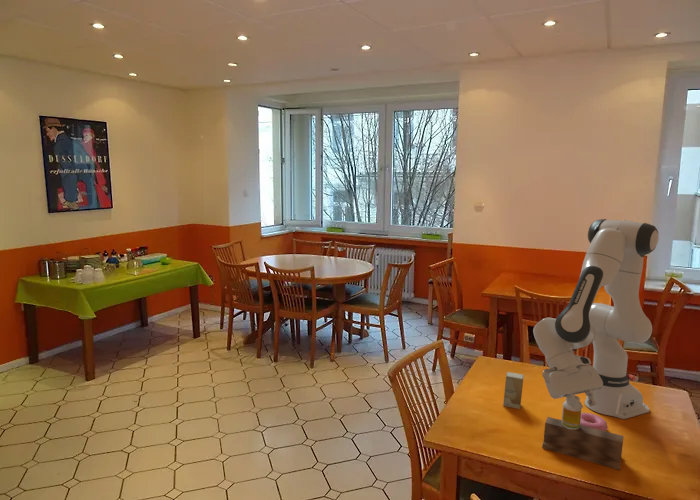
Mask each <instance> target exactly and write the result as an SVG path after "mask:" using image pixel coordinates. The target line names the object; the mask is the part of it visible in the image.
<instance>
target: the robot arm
mask: <svg viewBox="0 0 700 500" xmlns="http://www.w3.org/2000/svg"><path fill="white" fill-rule="evenodd" d="M587 239H588V242H589V246H588V248H587V251H586V253H585V255H584V259H583V261H582V264H581V271H580V274H579V278H578V281H577V282H576V283H577V284H576V286H575V287H574V291H573V292H572V295H571V298H570V300H569V302H568V304H567V305H566V307H565V308H564V309H563V310H561V312H560V313H559V314H558V315H557V316H556V318H553V317H549V316H548V317H545V318H542V319H540V320H539V321H538V322H537V323H535V325H534V326H533V330H532V332H533V336H534V339H535V342H536V344H537V346H538V348H539V350H540V351H541V353H542V354H543V355H544V357H545V361H546V363H547V365H548V367H549V368H546V369H545V368H544V369H543V372H542V377H543V379H544V383H545V386H546V389H547V391H548V393H549V396H550V397H551V398H552V399H554V400H556V399H561V398H566V397H567V399H568V401H570V402H571V403H572V404H573V405H574V406H575V408H576V409H577V410H578V409H581V410H582V409H583V408H584V406H583V404H582V402H581V401H580V402H578V401H577V400H576V399H575V398H574V397H575V396H577V395H578V394H579V395H580V394H585V395H586V398H585V401H584V404H585V406H586V407H587V408H588V409H590V410H592V411H594V412H596V413H599V414H602V415H606V416H611V417H615V418H619V419H622V420H626V419H629V418H632V417H636V416H639V415H644V414H646V413H650V408H649V406H648V405H647V404H645V403H644V398H643V397H644V396H643V395H642V394H643V393H642V392H640V390H639V389H637V388H636V387H635V386H634V385H632V384H631V383H630V381H631V382H634V381H635V380H636V376H635V375H634V374H631V373H629V374H628V373H627V371H628V369H627V368H628V361H629V360H628V359H629V356H628V353H627V351H626V350H625V348H623V347H622V345H621V344H620V342H619V341H618V340H620V341H623V342H626V343H630V344H631V343H632V344H639V345H640V344H644V343H645V342H647V341H648V340H649V339H650V338H651V336H652V334H653V324H652V322H651V320H650V319H649V317H648V316H646V313H645V312H644V311H643V309H642V306H641V302H640V295H639V294H640V293H639V291H640V285H641V281H642V280H641V278H642V273H643V268H644V257H645V256H646V255H649V254H651V253H652V252H654V251H655V249H656V247H657V245H658V243H659V240H660V239H659V231H658V229H657V227H656V226H655V225H653V224H650V223H647V222H644V223H642V222H639V221H638V222H637V221H633V220H626V219H624V220H622V219H619V220H618V219H606V218H601V219H597V220H594V221H593V222H592V223H591V224H590V226H589V228H588V231H587ZM602 287H603V288H604V291H605V292H606V293H607V294H608V295H609V296H610V298H611V299H612V302H613V306H612V305H609V304H605V303H600V302H595V299H596V296H597V294H598V292H599V290H600V289H601V288H602ZM591 344H592V345H593V346H592V347H593V361H591V359H590V358H589V357H587V356H581V355H578V354H575V353H574V351H573V350H578V349H582V348H585V347H588V346H590V345H591ZM592 362H593V364H592ZM591 364H592V365H591Z"/></svg>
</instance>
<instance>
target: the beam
mask: <svg viewBox="0 0 700 500" xmlns="http://www.w3.org/2000/svg"><path fill="white" fill-rule="evenodd" d="M543 432H544V433H543V442H542V446H541V447H542V449H545V450H548V451H552V452H555V453H559V454H562V455H565V456H569V457H573V458H576V459H580V460H583V461H586V462H590V463H594V464H597V465H600V466H604V467H608V468H612V469H615V470H618V471H621V466H622V465H621V464H622V463H621V462H622V455H623V445H624V438H625V437H624V435H622V434H621V435H620V434H617V433H613V432H609V431H602V430H598V429H594V428H590V427H586V426H582V425H580V428H579V429H576V430H571V429H568V428H565V427H564V426H563V425H562V419H558V418H555V417H551V416H547V417H546V420H545V422H544V431H543Z"/></svg>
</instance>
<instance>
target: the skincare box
mask: <svg viewBox="0 0 700 500" xmlns="http://www.w3.org/2000/svg"><path fill="white" fill-rule="evenodd" d="M523 385H524V374H521V373H515V372H509V371H507V372H506V375H505V384H504V394H503V403H502V405H503V406H504V407H509V408H513V409H518V410H520V409H521V404H522V394H523Z"/></svg>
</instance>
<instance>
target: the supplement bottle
mask: <svg viewBox="0 0 700 500" xmlns="http://www.w3.org/2000/svg"><path fill="white" fill-rule="evenodd" d="M574 398H575V399H576V400H577V401H578V402H581V398H580V397H579V396H578V395H575V397H574ZM581 413H582V408H581V409H578V410H577V409H576V408H575V406H574V405H573V404H572V403H571V402H570V401H568V399H567V397H565V401H563V404H562V411H561V420H562V425H563V426H564V427H565V428H568V429H571V430H576V429H579V428H580V420H581Z"/></svg>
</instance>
